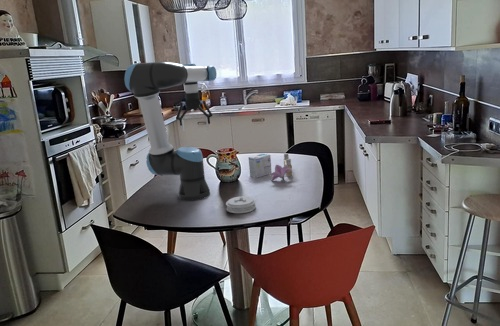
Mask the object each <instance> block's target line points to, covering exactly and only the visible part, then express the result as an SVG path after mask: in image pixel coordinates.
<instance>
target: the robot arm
mask: <svg viewBox="0 0 500 326" xmlns="http://www.w3.org/2000/svg"><path fill="white" fill-rule="evenodd" d="M216 79H217V69H216V67H215V66H214V65H203V66H202V65H196V64H195V63H184V64H181V63H176V62H170V61H169V62H168V61H167V62H166V61H153V62H138V63H132V64H130V65H128V67H127V68H126V70H125V72H124V85H125V87H126V89H127V90H128V91H130V92H133V97H134V98H136V100H138V102H139V107H140V109H141V113H142V114H141V115H142V117H143V121H144V126H145V128H146V133H147V137H148V140H149V145H150V148H149V150H148V153H147V155H146V157H145V159H146V166H147V169H148V171H149V172H150V173H151V174H152V175H156V176H179V179H180V183H179V188H178V193H177V194H178V195H177V196H178V199H179V200H181V201H185V202H187V201H189V202H193V201H199V200H203V199H206V198H208V197H210V195H211V191H210V187H209V186H208V183H207V180H206V178H205V177H206V176H205V165H204V157H203V153H202V151H201V149H199V148H198V147H194V146H193V147H192V146H183V147H178V148H177V149H176V150H175V149H174V146H173V144H171V143H170V141H169V137H168V134H167V133H168V132H167V129H166V125H165V121H164V120H165V119H164V117H163V111H162V108H161V103H160V99H159V94H160V93H161V90H166V89H169V88H174V87H178V86H182V85H183V87H184V93H185V95H184V96H185V101H181V102H180V105H179V108H178V112H177V114H176V116H175V120H177V121H178V120H179V125H180V127H181V129H182V133H185V121H184V119H183V118H184V117H185V115H186V114H187V112H189V110H197V109H198V110H199V112H201V114H203V115H204V116H205V117H206V118H205V120H206V121H205V123H206V130H207V131H209V129H210V128H209V124H210V123H211V120H210V119H211V118H212V117H213V113H212V112H211V111H212V110H211V109H210V108H209V106H208V105H207V103H206V100H205V99H204V100H200V95H199V94H200V93H199V82H211V81H215V80H216ZM200 105H203V106H204V108H205V109H206V111H207V112H206V111H205V110H204V109H203V108H202V106H200ZM184 106H186V109H185V110H184V111H183V107H184ZM182 111H183V113H182ZM181 113H182V114H181Z"/></svg>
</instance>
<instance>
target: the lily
mask: <svg viewBox="0 0 500 326" xmlns="http://www.w3.org/2000/svg"><path fill="white" fill-rule="evenodd" d="M288 165H289V164H288ZM288 165H286V166H284V165H283V167H282V165H279V164H275V166H274V171H273V172H272V173H271V174H268V175H269V176H272V177H271V179H270V181H272V182H273V181H274V180H276V179H278V178H280V179H281V180H283V182H284V184H286V181H285V176H286V173H287V172H289V171H291V170H292V171H293V168H292V169H289V168H287V167H288Z"/></svg>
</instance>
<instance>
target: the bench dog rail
mask: <svg viewBox="0 0 500 326" xmlns="http://www.w3.org/2000/svg"><path fill="white" fill-rule="evenodd" d="M288 164H289V165H288ZM286 165H288V167H287V168H289V169H292V170H291V171H289V172H287V173H285V176H286V177H289V178H290V177H293V164H292V159H291V158H290V157H289V153H286V152H285V153H283V167H284V166H286Z"/></svg>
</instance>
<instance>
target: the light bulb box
mask: <svg viewBox="0 0 500 326" xmlns="http://www.w3.org/2000/svg"><path fill="white" fill-rule="evenodd" d="M247 158H248V166H249V176H250V177H253V178H260V177H264V176H267V175H269V174H271V173H273V172H272V160H271V154H268V153H259V154H256V155H252V156H248V157H247Z"/></svg>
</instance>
